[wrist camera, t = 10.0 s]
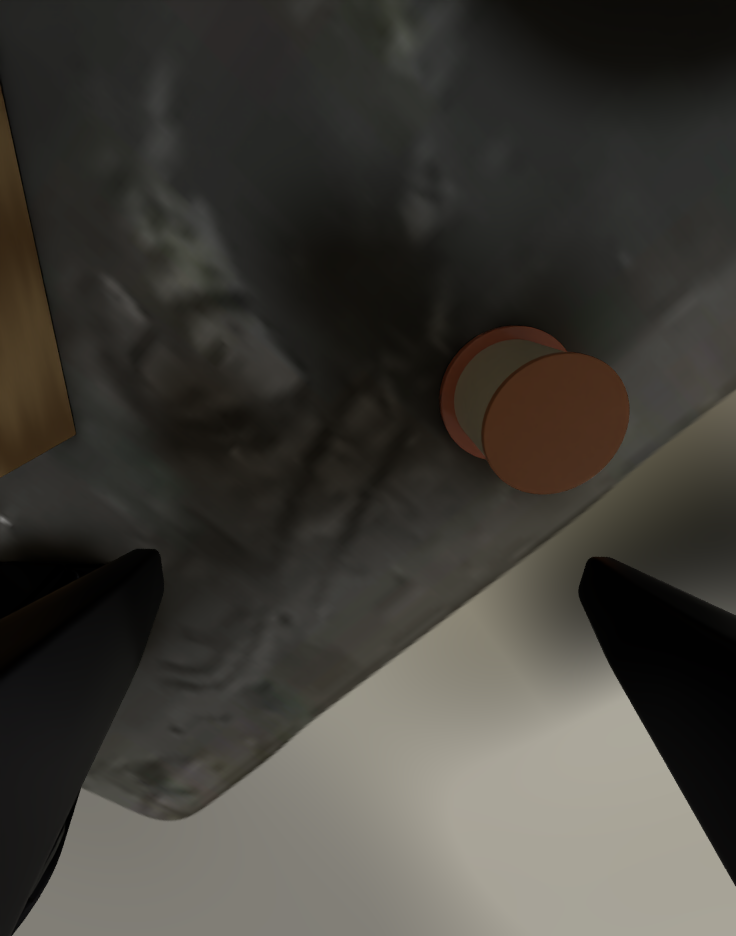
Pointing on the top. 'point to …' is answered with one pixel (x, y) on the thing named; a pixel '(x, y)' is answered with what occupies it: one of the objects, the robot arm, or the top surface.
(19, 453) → the pod rack
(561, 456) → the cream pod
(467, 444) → the coaster
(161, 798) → the top surface
